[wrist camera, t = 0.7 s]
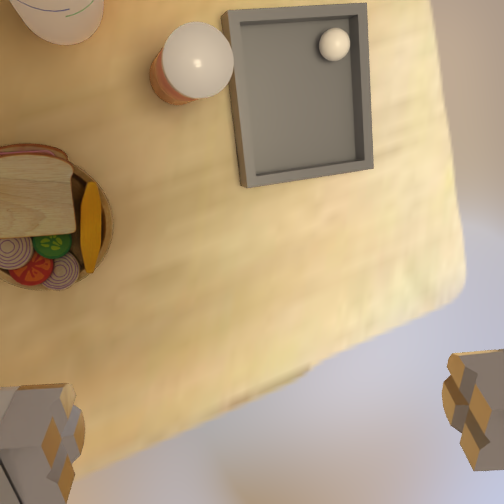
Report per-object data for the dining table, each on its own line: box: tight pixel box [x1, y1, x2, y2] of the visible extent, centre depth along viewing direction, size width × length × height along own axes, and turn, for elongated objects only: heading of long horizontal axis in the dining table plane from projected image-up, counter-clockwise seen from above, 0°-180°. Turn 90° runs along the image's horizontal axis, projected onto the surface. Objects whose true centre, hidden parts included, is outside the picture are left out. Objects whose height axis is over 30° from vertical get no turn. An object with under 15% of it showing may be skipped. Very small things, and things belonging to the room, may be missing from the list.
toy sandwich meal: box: [0, 144, 113, 291], centre depth 43 cm, size 12×14×5 cm
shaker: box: [150, 22, 234, 105], centre depth 40 cm, size 5×5×11 cm
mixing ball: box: [319, 28, 350, 61], centre depth 47 cm, size 3×3×3 cm
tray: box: [221, 3, 374, 188], centre depth 48 cm, size 16×14×2 cm
